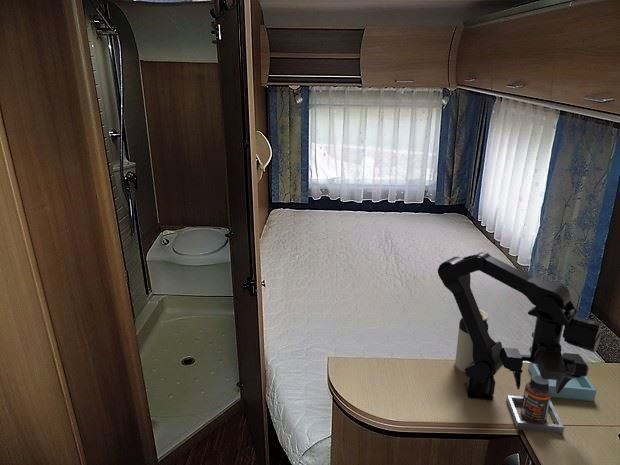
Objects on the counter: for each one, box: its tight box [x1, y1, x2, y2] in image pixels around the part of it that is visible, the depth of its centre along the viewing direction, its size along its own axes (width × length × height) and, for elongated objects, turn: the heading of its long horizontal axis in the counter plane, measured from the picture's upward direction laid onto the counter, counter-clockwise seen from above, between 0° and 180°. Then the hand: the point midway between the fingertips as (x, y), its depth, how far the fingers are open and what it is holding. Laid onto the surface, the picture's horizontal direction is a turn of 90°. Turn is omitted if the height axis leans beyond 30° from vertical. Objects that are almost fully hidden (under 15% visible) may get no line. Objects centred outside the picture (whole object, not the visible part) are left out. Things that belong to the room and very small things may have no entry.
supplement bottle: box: [520, 375, 552, 423], centre depth 112 cm, size 6×6×11 cm
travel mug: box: [454, 308, 490, 374], centre depth 132 cm, size 8×8×18 cm
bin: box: [527, 364, 597, 403], centre depth 126 cm, size 13×13×4 cm
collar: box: [505, 394, 565, 435], centre depth 114 cm, size 11×11×2 cm
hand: (537, 390), depth 112 cm, fingers open, 9 cm apart
